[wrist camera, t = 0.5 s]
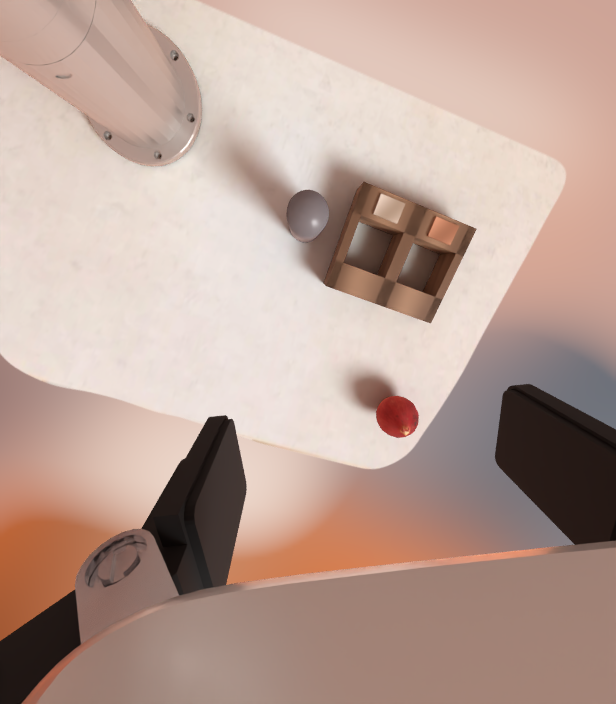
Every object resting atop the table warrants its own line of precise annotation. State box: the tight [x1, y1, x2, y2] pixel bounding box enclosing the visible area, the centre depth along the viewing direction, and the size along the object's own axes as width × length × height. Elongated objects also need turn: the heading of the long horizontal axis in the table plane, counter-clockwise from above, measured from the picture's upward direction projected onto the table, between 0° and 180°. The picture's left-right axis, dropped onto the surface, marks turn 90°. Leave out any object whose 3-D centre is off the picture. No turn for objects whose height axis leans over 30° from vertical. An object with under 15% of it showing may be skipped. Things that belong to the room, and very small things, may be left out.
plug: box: [287, 190, 329, 242], centre depth 32 cm, size 4×4×10 cm
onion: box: [376, 396, 419, 438], centre depth 41 cm, size 6×6×8 cm
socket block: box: [324, 182, 476, 323], centre depth 36 cm, size 14×12×4 cm
